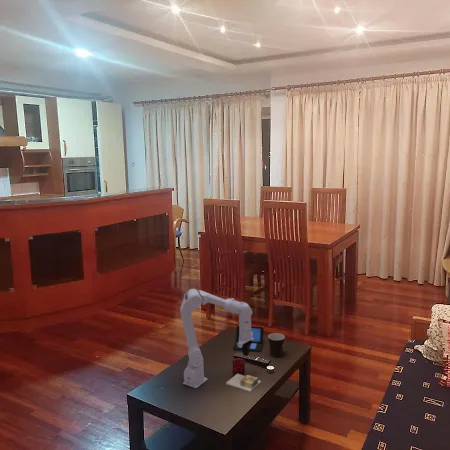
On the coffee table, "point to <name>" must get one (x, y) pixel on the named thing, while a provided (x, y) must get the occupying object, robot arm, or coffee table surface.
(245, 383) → the oak slab
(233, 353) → the coffee table surface
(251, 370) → the coffee table surface
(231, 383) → the grey mat
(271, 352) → the coffee mug
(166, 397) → the coffee table surface
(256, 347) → the handheld game console
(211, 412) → the coffee table surface
